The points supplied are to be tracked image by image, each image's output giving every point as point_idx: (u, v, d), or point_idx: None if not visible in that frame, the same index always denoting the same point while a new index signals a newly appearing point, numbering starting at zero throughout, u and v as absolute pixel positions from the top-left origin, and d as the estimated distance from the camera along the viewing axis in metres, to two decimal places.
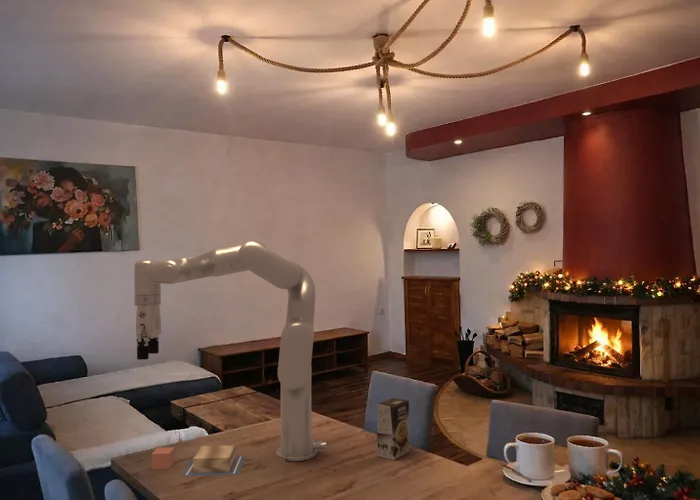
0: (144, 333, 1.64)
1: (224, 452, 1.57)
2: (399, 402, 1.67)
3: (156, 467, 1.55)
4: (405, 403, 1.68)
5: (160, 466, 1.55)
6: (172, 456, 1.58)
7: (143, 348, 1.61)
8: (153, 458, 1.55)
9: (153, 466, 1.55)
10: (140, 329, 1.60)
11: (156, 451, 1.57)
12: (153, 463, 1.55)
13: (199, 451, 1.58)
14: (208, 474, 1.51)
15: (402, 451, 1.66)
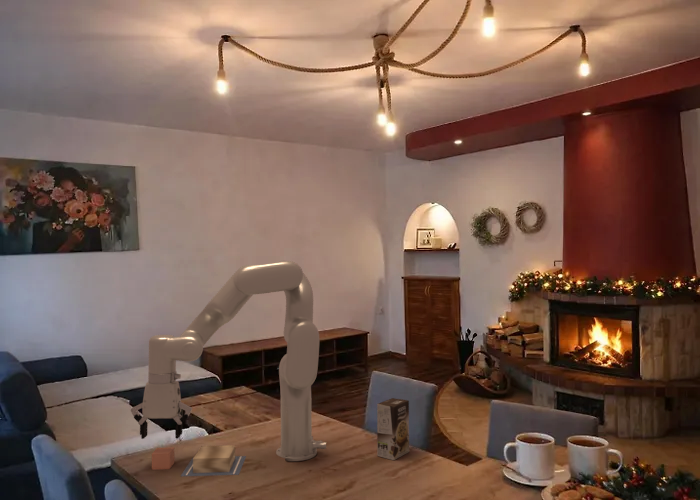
0: None
1: (224, 452, 1.57)
2: (399, 402, 1.67)
3: (156, 467, 1.55)
4: (405, 403, 1.68)
5: (160, 466, 1.55)
6: (172, 456, 1.58)
7: (182, 424, 1.59)
8: (153, 458, 1.55)
9: (153, 466, 1.55)
10: (186, 405, 1.58)
11: (156, 451, 1.57)
12: (153, 463, 1.55)
13: (199, 451, 1.58)
14: (208, 474, 1.51)
15: (402, 451, 1.66)
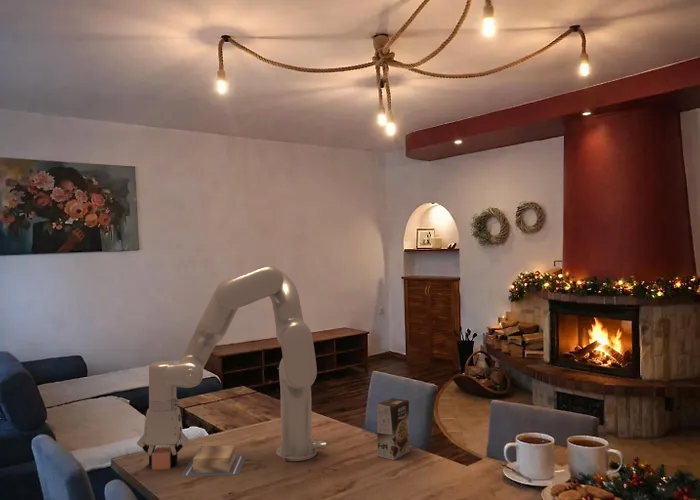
0: None
1: (224, 452, 1.57)
2: (399, 402, 1.67)
3: (156, 467, 1.55)
4: (405, 403, 1.68)
5: (160, 466, 1.55)
6: None
7: (176, 454, 1.59)
8: (153, 458, 1.55)
9: (153, 466, 1.55)
10: (184, 436, 1.58)
11: (156, 451, 1.57)
12: (153, 463, 1.55)
13: (199, 451, 1.58)
14: (208, 474, 1.51)
15: (402, 451, 1.66)
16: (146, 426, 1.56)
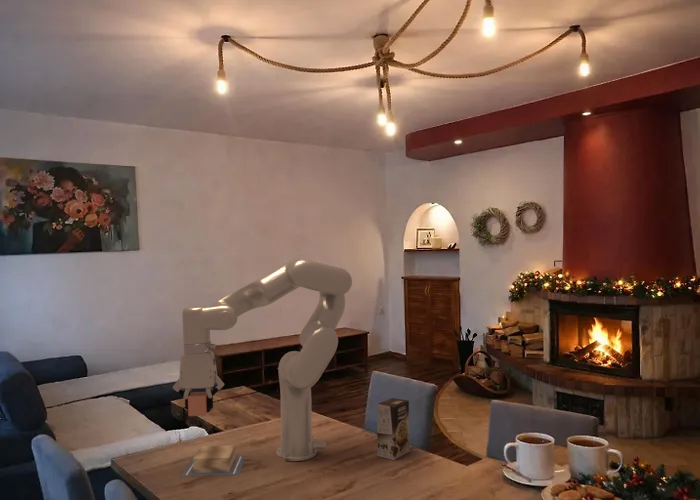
0: None
1: (224, 452, 1.57)
2: (399, 402, 1.67)
3: (192, 410, 1.56)
4: (405, 403, 1.68)
5: (196, 409, 1.56)
6: None
7: (212, 398, 1.59)
8: (189, 401, 1.55)
9: (189, 409, 1.55)
10: (220, 379, 1.58)
11: (192, 395, 1.57)
12: (189, 406, 1.55)
13: (199, 451, 1.58)
14: (208, 474, 1.51)
15: (402, 451, 1.66)
16: (181, 370, 1.56)
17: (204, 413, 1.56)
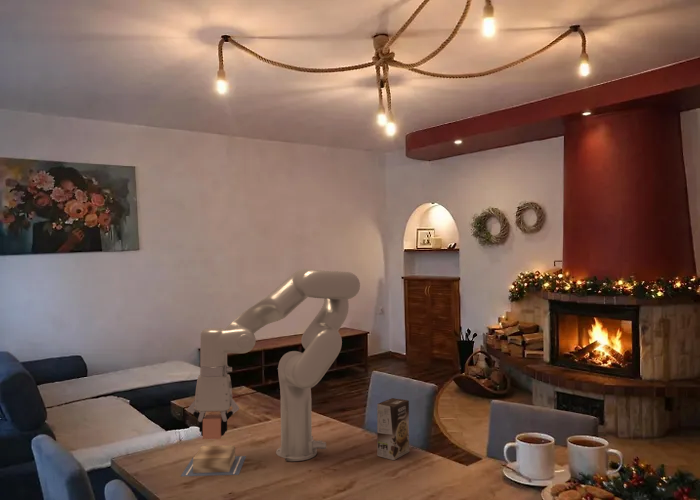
0: None
1: (224, 452, 1.57)
2: (399, 402, 1.67)
3: (207, 433, 1.55)
4: (405, 403, 1.68)
5: (211, 432, 1.55)
6: None
7: (226, 421, 1.58)
8: (204, 424, 1.55)
9: (204, 432, 1.55)
10: (235, 403, 1.58)
11: (206, 417, 1.57)
12: (204, 429, 1.55)
13: (199, 451, 1.58)
14: (208, 474, 1.51)
15: (402, 451, 1.66)
16: (197, 392, 1.55)
17: (218, 436, 1.55)
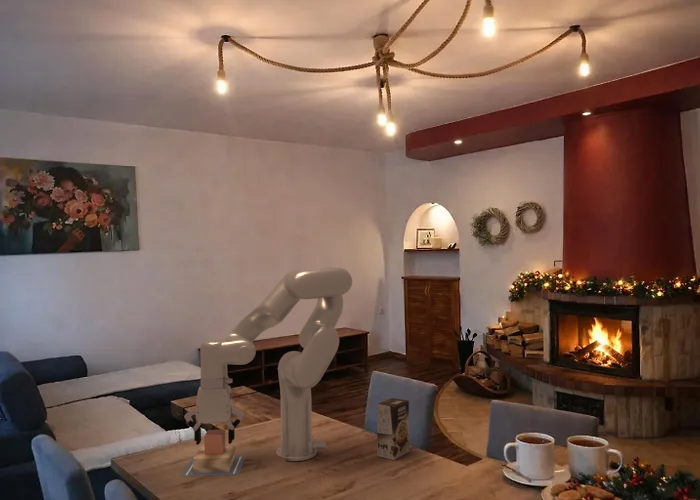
0: None
1: (224, 452, 1.57)
2: (399, 402, 1.67)
3: (209, 449, 1.55)
4: (405, 403, 1.68)
5: (213, 448, 1.55)
6: (224, 438, 1.58)
7: (234, 430, 1.58)
8: (206, 440, 1.55)
9: (206, 448, 1.55)
10: (238, 410, 1.58)
11: (208, 433, 1.57)
12: (206, 445, 1.55)
13: (199, 451, 1.58)
14: (208, 474, 1.51)
15: (402, 451, 1.66)
16: (198, 404, 1.55)
17: (220, 452, 1.55)
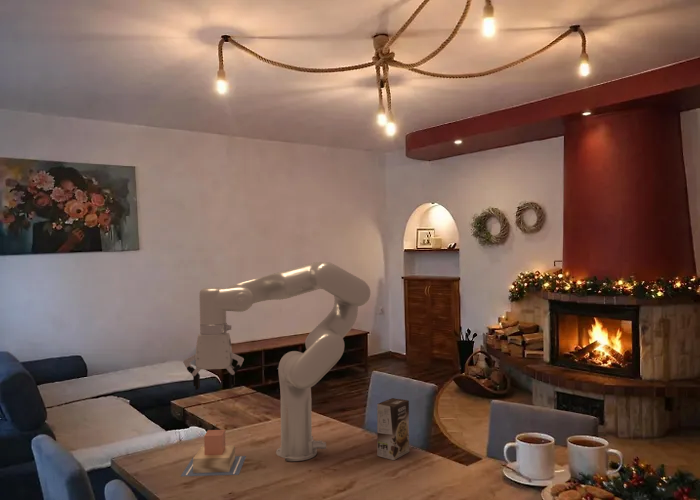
0: None
1: (224, 452, 1.57)
2: (399, 402, 1.67)
3: (209, 449, 1.55)
4: (405, 403, 1.68)
5: (213, 448, 1.55)
6: (224, 438, 1.58)
7: (234, 375, 1.60)
8: (206, 440, 1.55)
9: (206, 448, 1.55)
10: None
11: (208, 433, 1.57)
12: (206, 445, 1.55)
13: (199, 451, 1.58)
14: (208, 474, 1.51)
15: (402, 451, 1.66)
16: (198, 350, 1.57)
17: (220, 452, 1.55)
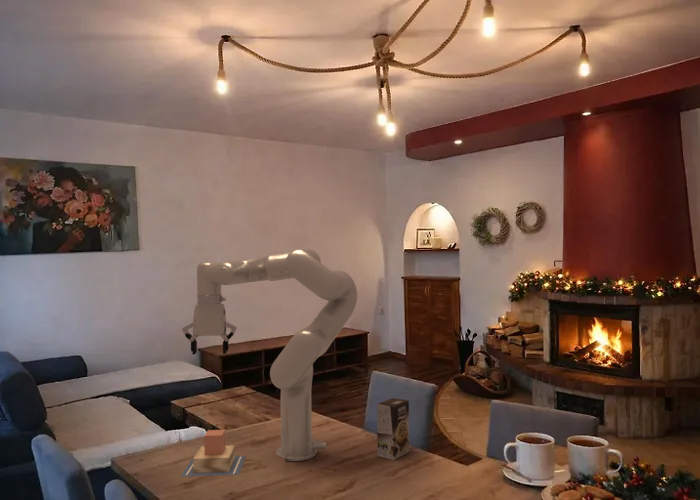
0: None
1: (224, 452, 1.57)
2: (399, 402, 1.67)
3: (209, 449, 1.55)
4: (405, 403, 1.68)
5: (213, 448, 1.55)
6: (224, 438, 1.58)
7: None
8: (206, 440, 1.55)
9: (206, 448, 1.55)
10: (231, 324, 1.76)
11: (208, 433, 1.57)
12: (206, 445, 1.55)
13: (199, 451, 1.58)
14: (208, 474, 1.51)
15: (402, 451, 1.66)
16: (195, 318, 1.73)
17: (220, 452, 1.55)
